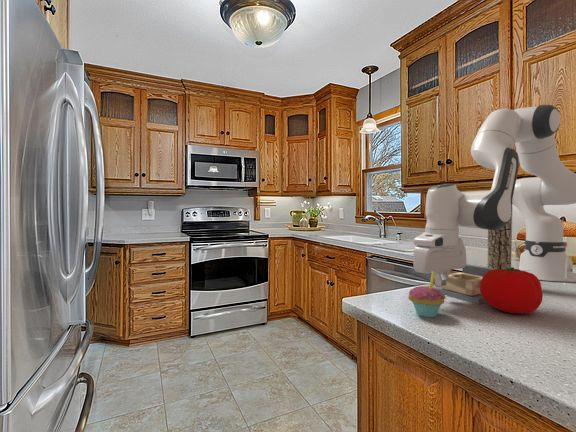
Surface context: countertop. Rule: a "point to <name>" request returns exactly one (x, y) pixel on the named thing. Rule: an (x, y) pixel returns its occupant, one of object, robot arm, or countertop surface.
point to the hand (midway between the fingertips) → (441, 285)
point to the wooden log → (500, 247)
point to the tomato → (511, 290)
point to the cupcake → (426, 299)
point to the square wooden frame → (463, 283)
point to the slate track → (474, 299)
